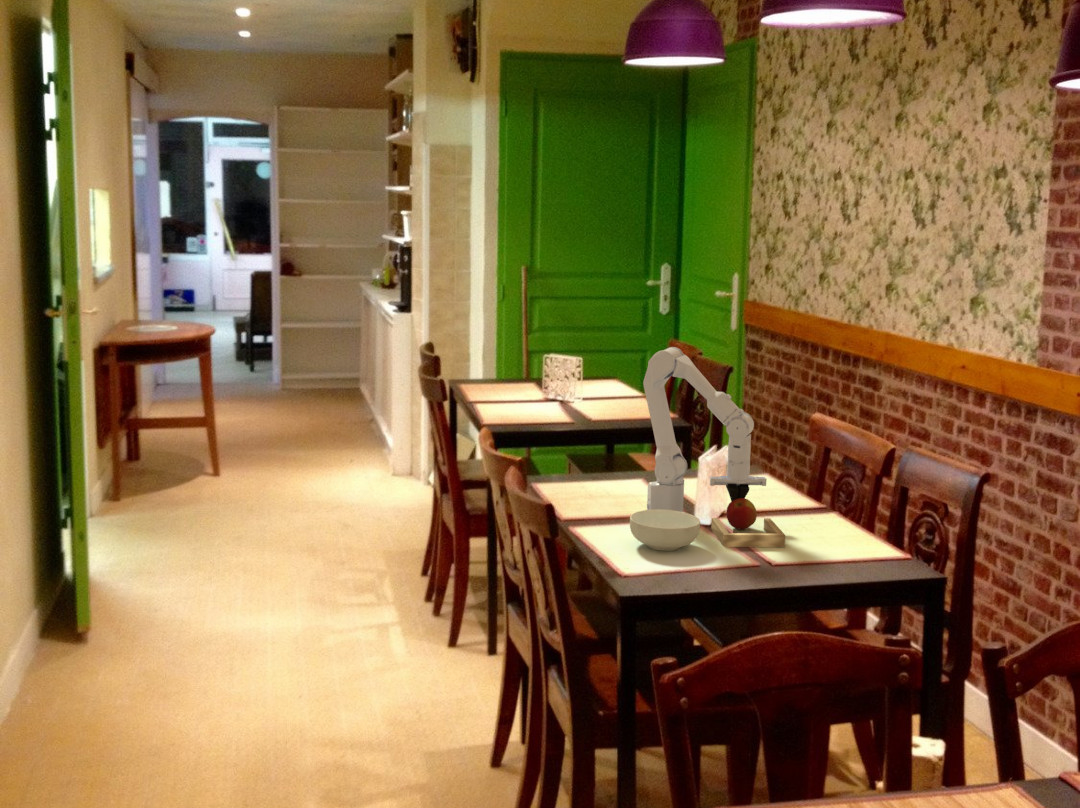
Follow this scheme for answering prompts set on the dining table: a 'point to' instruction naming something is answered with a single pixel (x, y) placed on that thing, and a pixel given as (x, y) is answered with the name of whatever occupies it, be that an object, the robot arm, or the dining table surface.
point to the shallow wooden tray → (749, 536)
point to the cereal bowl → (664, 528)
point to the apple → (741, 513)
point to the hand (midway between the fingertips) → (736, 512)
